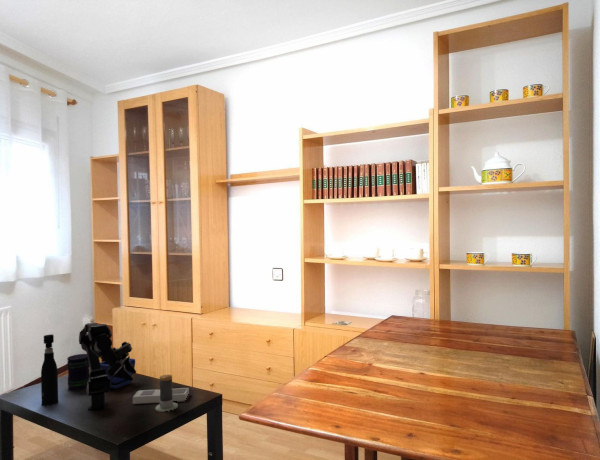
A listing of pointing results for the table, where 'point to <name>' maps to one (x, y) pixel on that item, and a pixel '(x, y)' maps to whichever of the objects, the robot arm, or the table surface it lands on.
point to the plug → (166, 392)
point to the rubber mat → (167, 408)
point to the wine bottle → (49, 374)
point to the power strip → (154, 395)
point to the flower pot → (114, 380)
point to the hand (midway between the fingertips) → (134, 376)
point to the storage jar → (78, 372)
